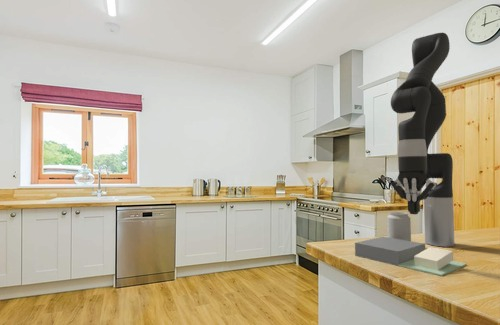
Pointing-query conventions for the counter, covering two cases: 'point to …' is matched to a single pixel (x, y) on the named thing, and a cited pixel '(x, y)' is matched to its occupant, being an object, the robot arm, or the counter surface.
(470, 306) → the counter surface
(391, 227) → the can
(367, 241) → the block
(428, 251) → the cream rectangular slab
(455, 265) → the mat
